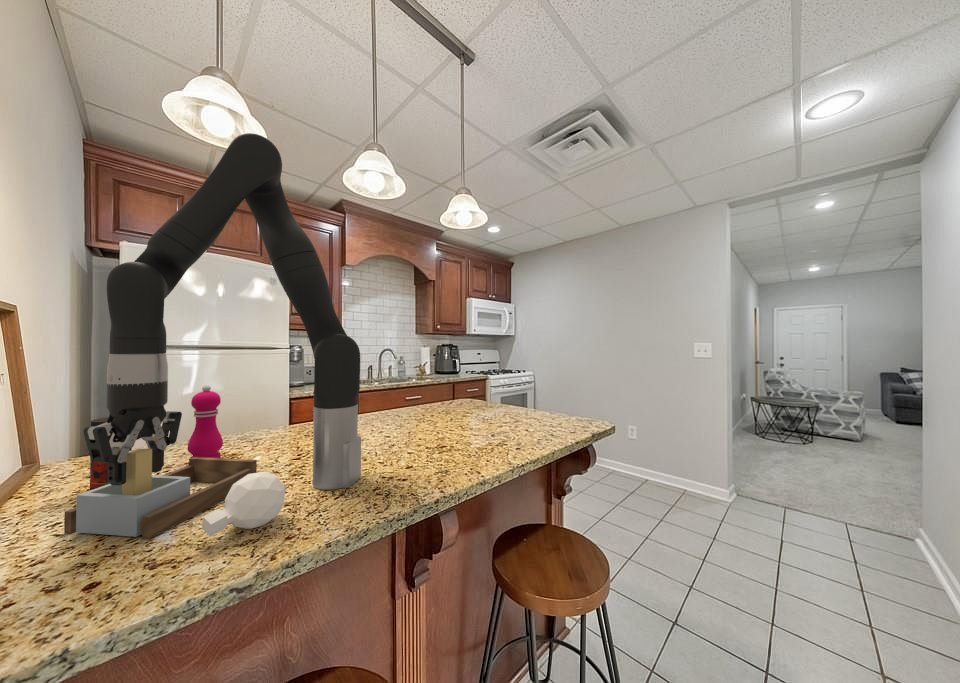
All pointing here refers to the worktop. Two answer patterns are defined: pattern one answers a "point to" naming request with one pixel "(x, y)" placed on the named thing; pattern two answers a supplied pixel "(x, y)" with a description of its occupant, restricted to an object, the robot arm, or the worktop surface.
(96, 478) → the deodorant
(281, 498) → the perfume bottle
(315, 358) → the robot arm
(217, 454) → the pepper mill
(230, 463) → the bay
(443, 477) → the worktop surface
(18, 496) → the worktop surface
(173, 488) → the box
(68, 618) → the worktop surface
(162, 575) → the worktop surface
